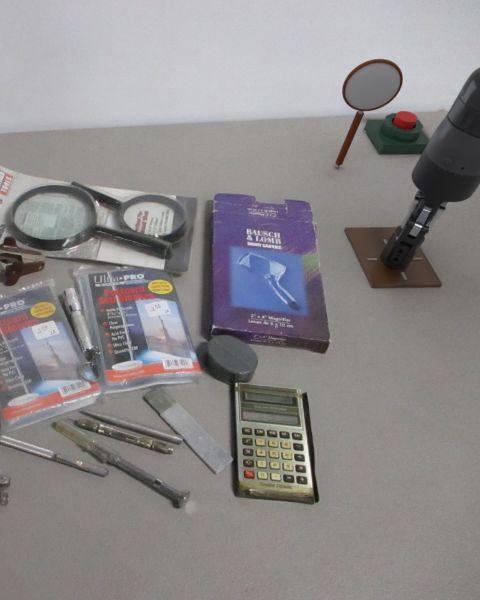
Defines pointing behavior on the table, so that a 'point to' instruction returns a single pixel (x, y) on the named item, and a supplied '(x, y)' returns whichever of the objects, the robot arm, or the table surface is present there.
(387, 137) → the button box
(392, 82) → the magnifying glass
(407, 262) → the knob
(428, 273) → the panel
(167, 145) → the table surface
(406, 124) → the button
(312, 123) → the table surface
